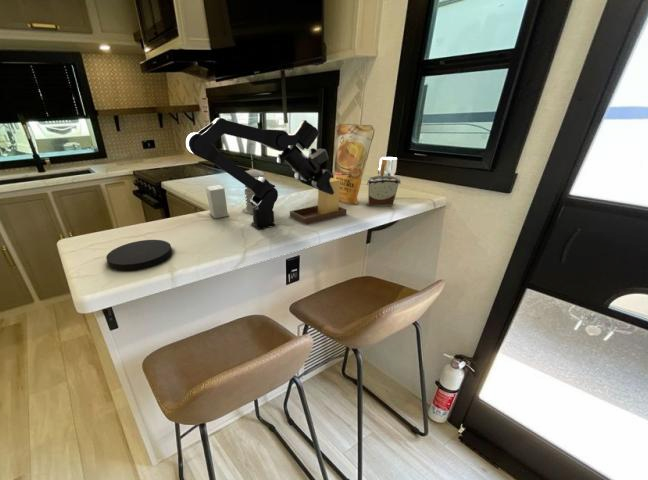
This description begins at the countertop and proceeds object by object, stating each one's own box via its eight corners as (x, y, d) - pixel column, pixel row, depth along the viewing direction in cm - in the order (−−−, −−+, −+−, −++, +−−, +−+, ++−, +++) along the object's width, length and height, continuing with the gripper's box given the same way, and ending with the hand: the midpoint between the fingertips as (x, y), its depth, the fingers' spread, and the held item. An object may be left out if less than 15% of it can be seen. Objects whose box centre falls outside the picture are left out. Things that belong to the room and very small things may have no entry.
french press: (258, 205, 131) (253, 139, 118) (275, 210, 123) (272, 140, 110) (239, 210, 126) (231, 142, 113) (255, 216, 118) (249, 143, 105)
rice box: (327, 216, 112) (328, 182, 106) (317, 212, 117) (318, 179, 111) (338, 214, 114) (340, 179, 108) (328, 210, 119) (329, 177, 112)
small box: (228, 216, 120) (224, 188, 114) (214, 218, 118) (209, 190, 113) (223, 211, 126) (219, 184, 121) (209, 213, 125) (205, 186, 119)
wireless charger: (160, 241, 101) (158, 235, 100) (181, 257, 89) (180, 251, 88) (102, 256, 92) (100, 250, 91) (117, 277, 80) (114, 270, 79)
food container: (393, 200, 126) (397, 174, 120) (397, 205, 121) (401, 178, 115) (362, 201, 127) (365, 176, 122) (364, 205, 122) (367, 179, 117)
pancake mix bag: (338, 194, 139) (342, 123, 124) (368, 203, 124) (377, 124, 110) (326, 196, 137) (329, 124, 122) (354, 206, 122) (362, 125, 107)
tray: (305, 224, 107) (305, 218, 106) (289, 217, 115) (289, 211, 114) (346, 215, 113) (346, 209, 112) (328, 208, 121) (328, 202, 120)
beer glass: (393, 195, 133) (399, 157, 125) (389, 199, 128) (395, 159, 120) (377, 193, 137) (382, 156, 129) (372, 197, 132) (377, 159, 124)
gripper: (328, 142, 93) (356, 176, 102) (301, 138, 108) (328, 168, 117) (304, 173, 95) (334, 204, 104) (281, 165, 110) (309, 192, 119)
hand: (326, 191), depth 111 cm, fingers open, 9 cm apart
